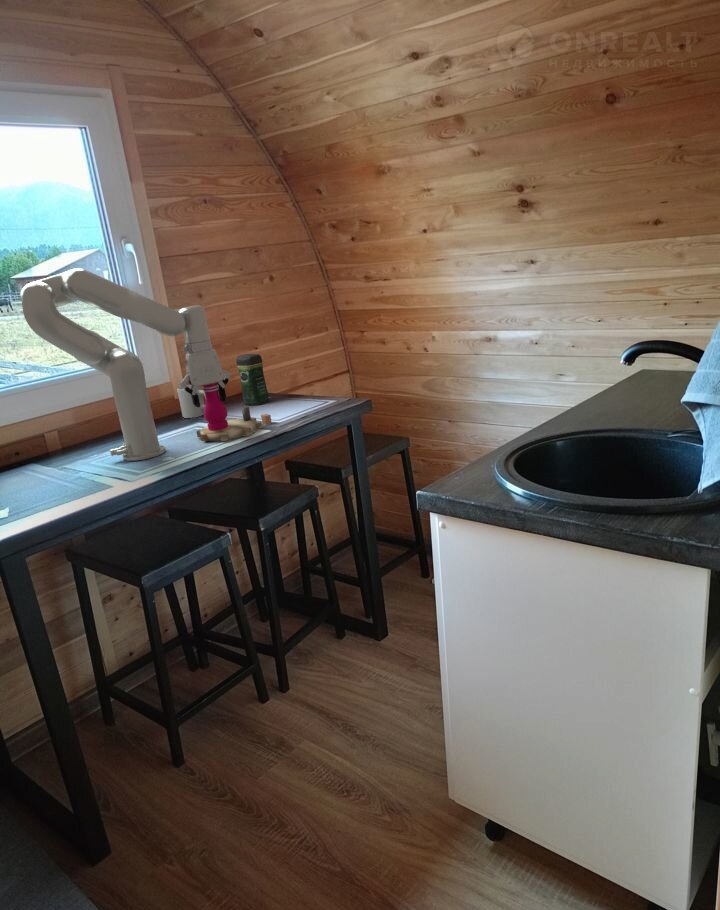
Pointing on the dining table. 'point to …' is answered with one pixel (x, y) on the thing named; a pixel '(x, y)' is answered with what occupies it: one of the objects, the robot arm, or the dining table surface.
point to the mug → (190, 403)
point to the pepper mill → (214, 408)
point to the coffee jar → (252, 379)
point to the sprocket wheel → (232, 428)
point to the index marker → (266, 419)
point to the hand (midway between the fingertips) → (210, 403)
